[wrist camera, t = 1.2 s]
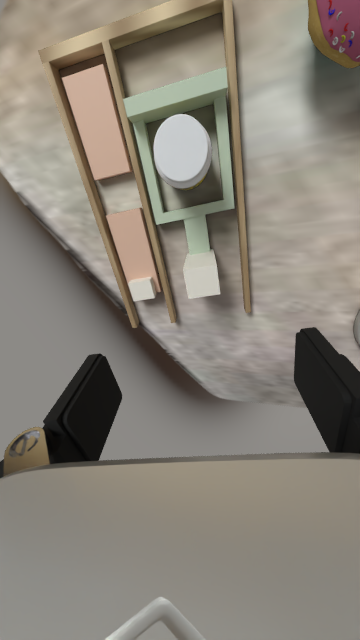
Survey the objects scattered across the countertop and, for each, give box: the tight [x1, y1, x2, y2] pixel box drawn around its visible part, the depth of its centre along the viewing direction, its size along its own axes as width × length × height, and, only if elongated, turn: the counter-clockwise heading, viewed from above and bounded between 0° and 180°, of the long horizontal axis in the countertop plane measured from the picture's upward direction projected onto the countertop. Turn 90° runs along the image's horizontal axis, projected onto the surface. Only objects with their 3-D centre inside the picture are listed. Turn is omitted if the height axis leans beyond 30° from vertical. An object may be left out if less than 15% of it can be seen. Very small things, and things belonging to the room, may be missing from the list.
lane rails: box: [38, 0, 251, 328], centre depth 25 cm, size 16×28×2 cm, turn 11°
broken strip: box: [62, 64, 162, 301], centre depth 25 cm, size 4×22×2 cm, turn 11°
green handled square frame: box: [123, 67, 234, 299], centre depth 22 cm, size 9×17×7 cm, turn 11°
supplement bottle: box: [154, 114, 212, 190], centre depth 20 cm, size 5×5×8 cm
